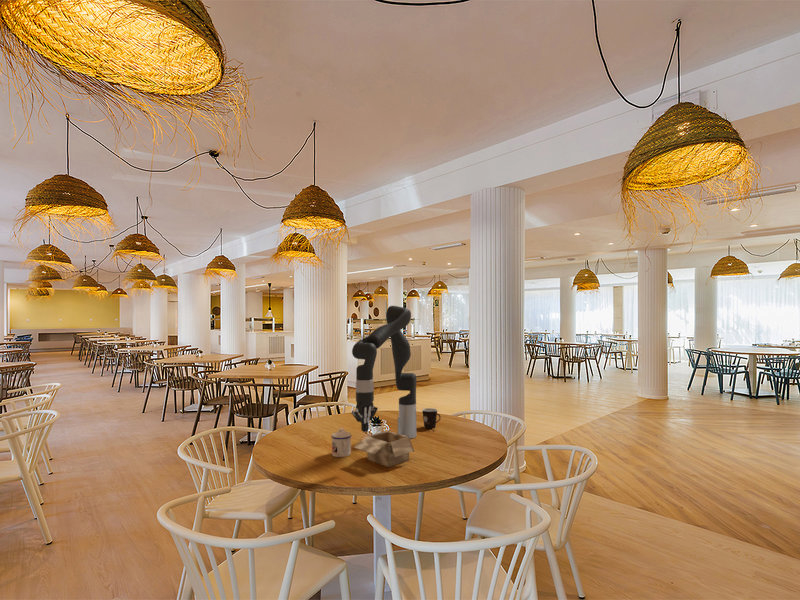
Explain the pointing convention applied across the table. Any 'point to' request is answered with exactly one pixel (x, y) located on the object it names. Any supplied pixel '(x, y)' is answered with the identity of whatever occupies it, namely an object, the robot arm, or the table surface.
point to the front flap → (370, 445)
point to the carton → (391, 449)
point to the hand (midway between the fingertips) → (364, 431)
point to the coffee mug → (430, 417)
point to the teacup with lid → (341, 443)
